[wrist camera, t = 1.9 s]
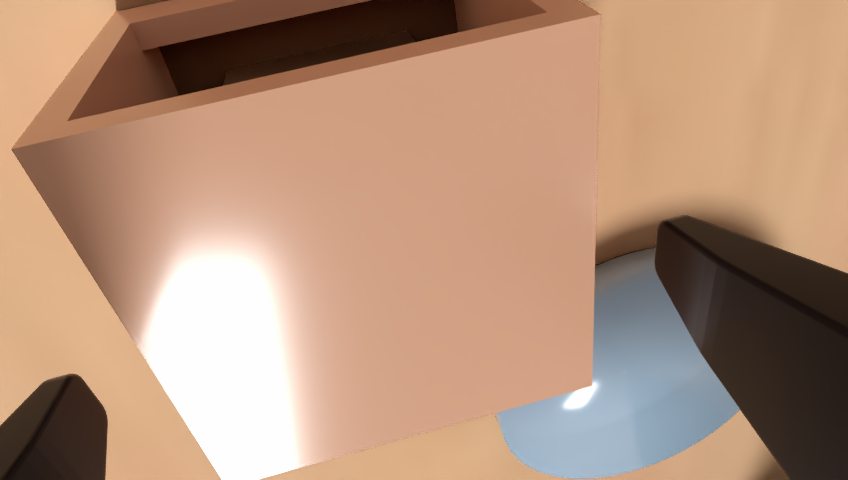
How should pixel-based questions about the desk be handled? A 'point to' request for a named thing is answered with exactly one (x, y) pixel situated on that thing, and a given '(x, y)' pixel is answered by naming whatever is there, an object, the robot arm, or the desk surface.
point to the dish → (624, 386)
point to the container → (337, 223)
